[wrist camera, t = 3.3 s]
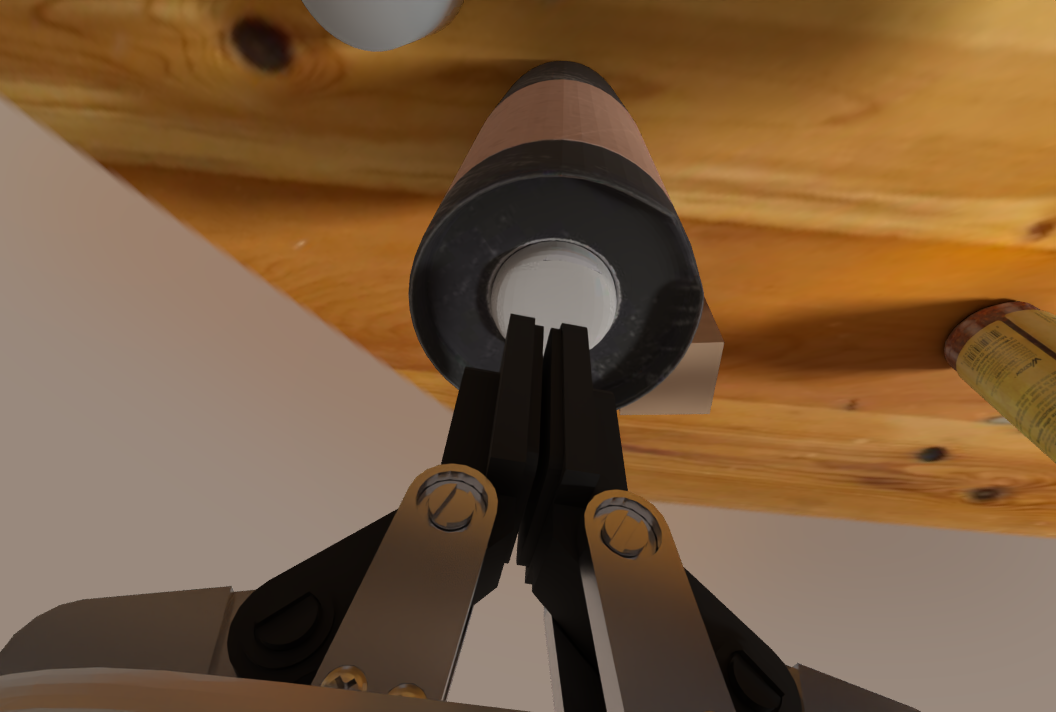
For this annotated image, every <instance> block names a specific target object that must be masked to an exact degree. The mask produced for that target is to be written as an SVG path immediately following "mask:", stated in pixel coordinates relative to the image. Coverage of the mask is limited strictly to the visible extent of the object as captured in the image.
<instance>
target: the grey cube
mask: <svg viewBox="0 0 1056 712" xmlns="http://www.w3.org/2000/svg"><path fill="white" fill-rule="evenodd" d="M723 346H724V340H723V338H722V336H721V334H720V331H719V329H718V327H717V325H716V322H715V320H714V318H713V315H712V313H711V311H710V309H709V306H708V304H707V302H706V300H705V297H704V305H703V311H702V316H701V319H700V322H699V326H698V329H697V331H696V333H695V336H694V338H693V340H692V343H691V344H690V346H689V348H688V350H687V352H686V354H685V355H684V357H683V358H682V360H681V361H680V363H679V364H678V365H677V367H676V368H675V369H674V370H673V372H672V373H671V374H670V375H669V376H668V377H667V378H666V379H665V380H664V381H663V382H662V383H661V384H659V385H658V386H657V387H656V388H655V389H653V390H652V391H651V392H649V393H648V394H646V395H645V396H643V397H642V398H640V399H639V400H637V401H635V402H633V403H631V404H629V405H627V406H625V407H623V408H621V409H619V411H620V415H661V414H710V410H711V405H712V400H713V395H714V390H715V385H716V380H717V375H718V371H719V366H720V361H721V356H722V351H723Z"/></svg>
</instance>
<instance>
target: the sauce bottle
mask: <svg viewBox="0 0 1056 712" xmlns="http://www.w3.org/2000/svg"><path fill="white" fill-rule="evenodd" d="M944 353H945V358H946V360H947V362H948V363H949V365H950V366H951V367H952V368H953V369H954V370H956V371H957V373H958V374H959V376H960V377H961V378H962V379H963V380H964V381H965V382H966V383H967V384H968V385H969V386H970V387H971V388H972V389H974V390H975V391H976V392H977V393H978V394H979V395H980V396H981V397H982V398H984V399H985V400H986V401H987V402H988V403H989V404H990V405H991V406H992V407H994V408H995V409H996V410H997V411H998V412H999V413H1000V414H1001V415H1002V416H1004V417H1005V418H1006V419H1007V420H1008V421H1009V422H1010V423H1011V424H1012V425H1013V426H1015V427H1016V428H1017V429H1018V430H1019V431H1020V432H1021V433H1022V434H1023V435H1025V436H1026V437H1027V438H1028V439H1029V440H1030V441H1031V442H1032V443H1033V444H1035V445H1036V446H1037V447H1038V448H1039V449H1040V450H1041V451H1042V452H1044V453H1045V454H1046V455H1047V456H1048V457H1049V458H1050V459H1051V460H1052V461H1054V462H1055V463H1056V316H1055V315H1054V314H1052V313H1049V312H1046V311H1042V310H1040V309H1038V308H1036V307H1035V306H1033V305H1031V304H1029V303H1025V302H1020V301H1017V302H1008V303H1002V304H999V305H994V306H990V307H986V308H984V309H981V310H979V311H977V312H976V313H974V314H972V315H970V316H968V317H967V318H966V319H965V320H963V322H962V323H960V324H959V325H957V326H956V327H955V328H954V329H953V331H952V332H951V334H950V335H949V337H948V339H947V340H946V342H945V348H944Z"/></svg>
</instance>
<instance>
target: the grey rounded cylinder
mask: <svg viewBox="0 0 1056 712" xmlns="http://www.w3.org/2000/svg"><path fill="white" fill-rule="evenodd" d="M302 2H303V3H304V5H305V6H306V8H307V9H308V11H309V12H310V13H311V15H312V16H313V17H314V18H315V19H316V20H317V22H318V23H319V24H320V25H321V26H322V27H323V28H324V29H325V30H327V31H328V32H329V33H330V34H332V35H333V36H334V37H336V38H337V39H339V40H341V41H342V42H344V43H346V44H348V45H350V46H352V47H355V48H358V49H362V50H367V51H387V50H392V49H395V48H398V47H400V46H403V45H406V44H408V43H411V42H414V41H416V40H419V39H422V38H424V37H427V36H430V35H432V34H435V33H437V32H439V31H441V30H442V29H444V28H445V27H446V26H447V25H449V24H450V22H451V21H452V20H453V19H454V18H455V16H456V15H457V14H458V12H459V10H460V8H461V6H462V4H463V2H464V0H302Z"/></svg>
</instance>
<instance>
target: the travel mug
mask: <svg viewBox="0 0 1056 712" xmlns="http://www.w3.org/2000/svg"><path fill="white" fill-rule="evenodd" d="M703 305H704V292H703V287H702V283H701V280H700V276H699V272H698V268H697V264H696V261H695V257H694V254H693V250H692V247H691V244H690V241H689V239H688V237H687V235H686V233H685V230H684V228H683V226H682V224H681V222H680V219H679V217H678V215H677V213H676V211H675V209H674V206H673V204H672V202H671V200H670V198H669V195H668V193H667V191H666V189H665V187H664V184H663V182H662V180H661V178H660V176H659V173H658V171H657V169H656V167H655V165H654V162H653V160H652V158H651V156H650V154H649V151H648V149H647V147H646V145H645V143H644V140H643V138H642V136H641V134H640V132H639V129H638V127H637V125H636V123H635V122H634V120H633V118H632V117H631V115H630V114H629V112H628V111H627V109H626V108H625V106H624V105H623V104H622V102H621V101H620V99H619V98H618V96H617V95H616V93H615V92H614V90H613V89H612V88H611V86H610V85H609V84H608V83H607V82H606V81H605V79H604V78H602V77H601V76H600V75H599V74H598V73H597V72H595V71H593V70H592V69H590V68H589V67H586V66H584V65H582V64H579V63H575V62H570V61H554V62H549V63H545V64H542V65H539V66H537V67H535V68H533V69H531V70H530V71H528V72H527V73H526V74H524V75H523V76H522V77H521V78H520V79H519V80H517V81H516V82H515V84H514V85H513V86H512V87H511V88H510V90H509V91H508V92H507V94H506V95H505V96H504V97H503V99H502V100H501V101H500V103H499V104H498V105H497V106H496V108H495V109H494V110H493V112H492V113H491V114H490V115H489V117H488V118H487V120H486V121H485V123H484V125H483V126H482V128H481V130H480V132H479V134H478V136H477V137H476V139H475V141H474V143H473V145H472V147H471V149H470V150H469V152H468V154H467V156H466V158H465V160H464V162H463V163H462V165H461V167H460V169H459V171H458V173H457V175H456V176H455V178H454V180H453V182H452V184H451V186H450V188H449V189H448V191H447V193H446V195H445V197H444V199H443V201H442V202H441V204H440V206H439V208H438V210H437V212H436V213H435V215H434V217H433V219H432V221H431V223H430V225H429V226H428V228H427V230H426V232H425V234H424V236H423V238H422V240H421V243H420V245H419V247H418V250H417V252H416V255H415V258H414V261H413V266H412V270H411V274H410V283H409V307H410V313H411V318H412V322H413V326H414V329H415V332H416V335H417V337H418V340H419V342H420V344H421V346H422V348H423V350H424V352H425V353H426V355H427V357H428V358H429V359H430V361H431V362H432V364H433V365H434V366H435V368H436V369H437V370H438V371H439V372H440V373H441V374H442V375H443V376H444V378H445V379H446V380H448V381H449V382H450V383H451V384H452V385H453V386H455V387H456V388H457V389H458V390H459V389H460V384H461V380H462V376H463V372H464V369H465V366H466V367H472V368H478V369H484V370H489V371H495V372H499V371H500V365H501V360H502V355H503V350H504V345H505V339H506V334H507V329H508V324H509V319H510V314H517V315H522V316H528V317H533V318H535V325H540V326H544V341H543V355H544V352H545V348H546V344H547V340H548V336H549V332H550V329H551V328H556V329H560V326H561V324H562V323H566V324H571V325H577V326H582V327H587V330H588V339H589V350H590V361H591V373H592V384H593V389H599V390H605V391H610V392H612V393H613V394H614V398H615V404H616V410H618V409H621V408H623V407H625V406H627V405H629V404H631V403H633V402H635V401H637V400H639V399H640V398H642V397H643V396H645V395H646V394H648V393H649V392H651V391H652V390H653V389H655V388H656V387H657V386H658V385H659V384H661V383H662V382H663V381H664V380H665V379H666V378H667V377H668V376H669V375H670V374H671V373H672V372H673V370H674V369H675V368H676V367H677V365H678V364H679V363H680V361H681V360H682V358H683V357H684V355H685V354H686V352H687V350H688V348H689V346H690V344H691V343H692V340H693V338H694V336H695V333H696V331H697V329H698V326H699V322H700V319H701V316H702V311H703Z"/></svg>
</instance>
